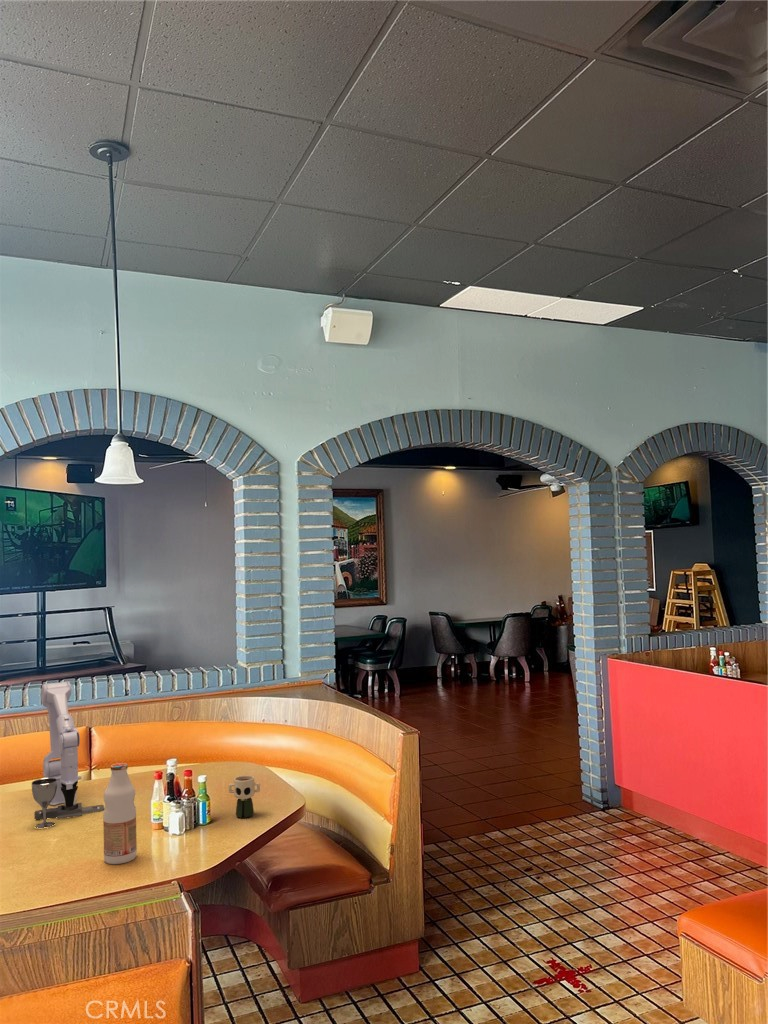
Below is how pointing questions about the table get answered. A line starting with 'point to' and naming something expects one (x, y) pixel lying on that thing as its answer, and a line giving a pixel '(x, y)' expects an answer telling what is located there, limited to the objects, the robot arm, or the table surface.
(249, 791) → the character mug
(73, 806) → the steel pin
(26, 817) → the table surface
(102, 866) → the table surface
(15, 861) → the table surface
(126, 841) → the fruit juice
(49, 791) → the wine glass
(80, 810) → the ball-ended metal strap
